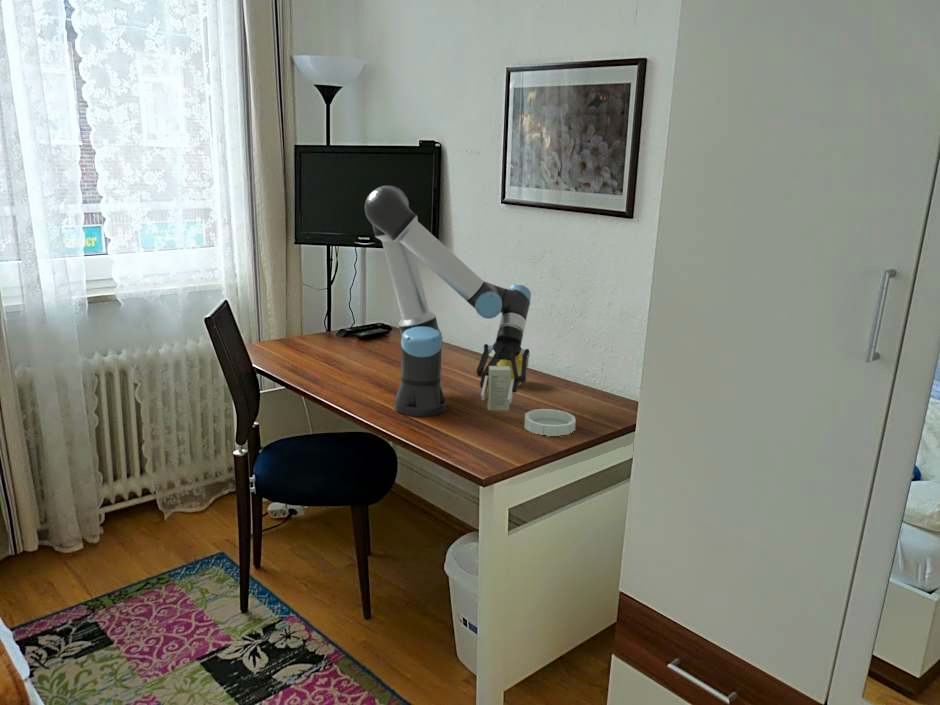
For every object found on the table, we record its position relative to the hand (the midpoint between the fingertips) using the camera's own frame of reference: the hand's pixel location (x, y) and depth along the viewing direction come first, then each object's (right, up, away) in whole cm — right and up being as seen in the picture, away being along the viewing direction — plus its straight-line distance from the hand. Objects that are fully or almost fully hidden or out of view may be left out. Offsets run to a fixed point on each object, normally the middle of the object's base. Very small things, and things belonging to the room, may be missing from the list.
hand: (495, 399), depth 208 cm
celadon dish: (+15, -8, -2) cm, 17 cm away
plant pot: (+6, +3, +37) cm, 38 cm away
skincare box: (+1, -3, +4) cm, 5 cm away
